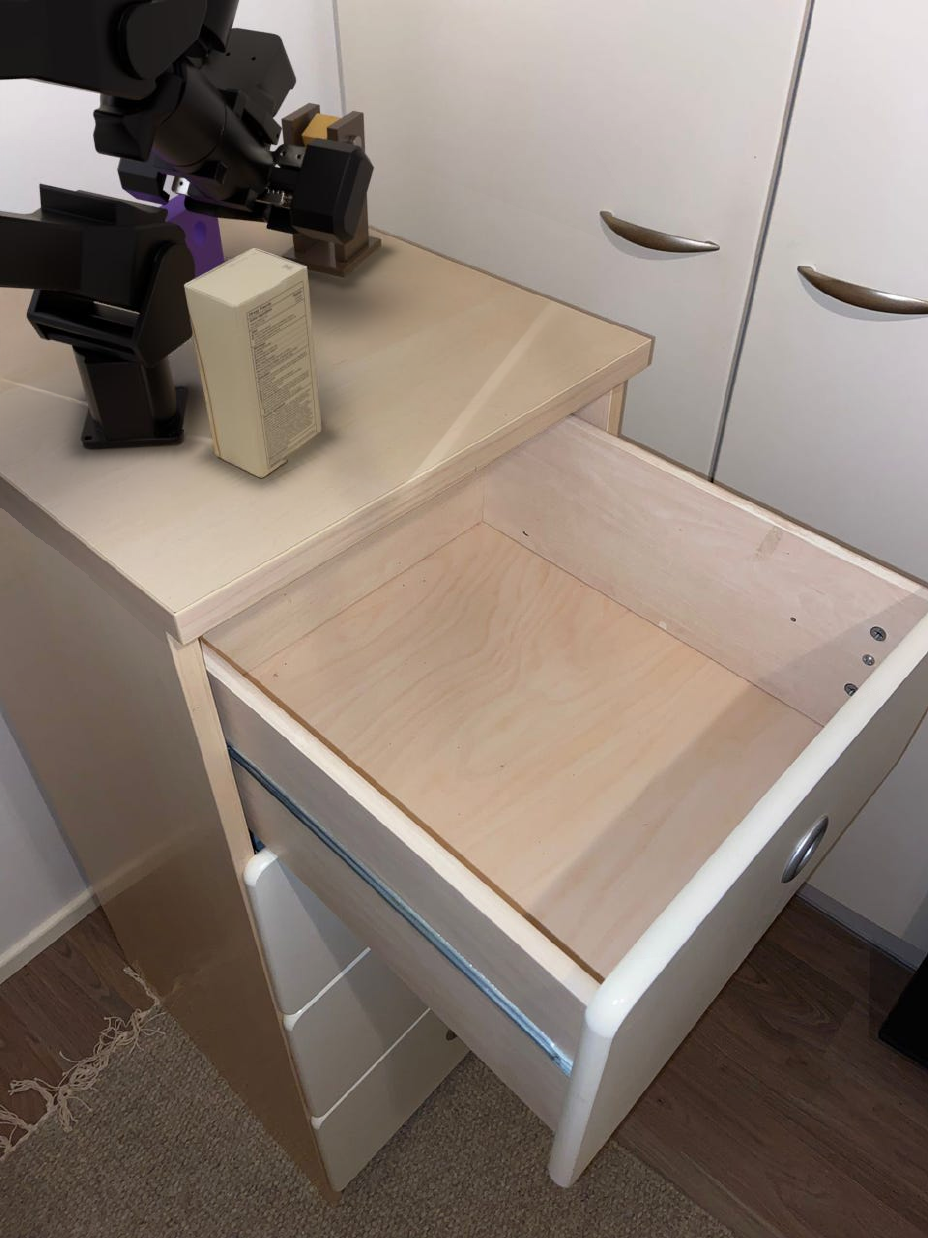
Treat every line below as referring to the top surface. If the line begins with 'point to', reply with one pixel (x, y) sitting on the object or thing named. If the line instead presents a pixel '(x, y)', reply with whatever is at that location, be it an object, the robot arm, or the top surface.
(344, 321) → the top surface
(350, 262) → the lock bracket
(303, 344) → the cosmetic box
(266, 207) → the lock lever
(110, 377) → the robot arm
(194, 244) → the bracket
